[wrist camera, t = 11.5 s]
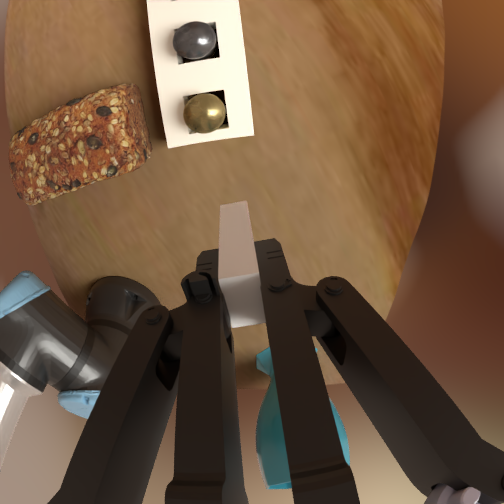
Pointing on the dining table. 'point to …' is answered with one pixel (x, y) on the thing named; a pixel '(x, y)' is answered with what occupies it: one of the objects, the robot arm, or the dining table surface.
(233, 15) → the slab
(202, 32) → the grey plug
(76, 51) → the dining table surface
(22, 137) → the bread
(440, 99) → the dining table surface
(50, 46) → the dining table surface
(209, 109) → the brass plug
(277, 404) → the vase
